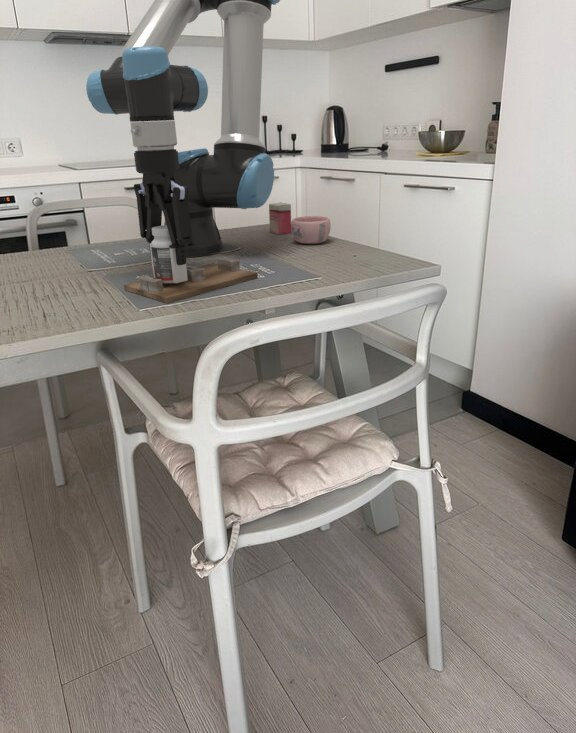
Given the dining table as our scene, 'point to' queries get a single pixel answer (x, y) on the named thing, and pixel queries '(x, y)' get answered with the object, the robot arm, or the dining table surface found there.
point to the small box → (280, 218)
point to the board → (193, 281)
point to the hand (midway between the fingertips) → (170, 278)
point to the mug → (310, 229)
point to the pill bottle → (162, 254)
